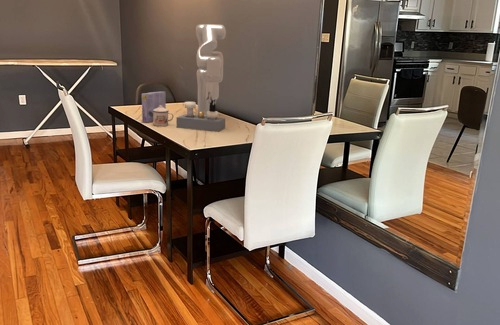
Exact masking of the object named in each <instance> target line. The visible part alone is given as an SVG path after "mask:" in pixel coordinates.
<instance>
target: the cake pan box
mask: <svg viewBox="0 0 500 325" xmlns="http://www.w3.org/2000/svg"><path fill="white" fill-rule="evenodd" d="M166 99H167V98H166V91H153V92H147V93H145V92H144V93H143V92H142V93H141V114H142V115H141V119H142V120H141V121H142V123H146V124H147V123H148V124H149V123H154V119H153V110H154V109H156V108H158V107H159V106H160V105H161V106H162V107H164V108H165V109H167V108H166Z"/></svg>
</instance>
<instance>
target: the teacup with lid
mask: <svg viewBox="0 0 500 325" xmlns="http://www.w3.org/2000/svg"><path fill="white" fill-rule="evenodd" d="M169 115H171V119H169ZM174 116H175V115H174V114H173V113H172V112H169V109H167V108H166V109H165V108H164V107H162V106H161V105H160V106H159V107H158V108H156V109H154V110H153V119H154V122H153V125H154V126H155V127H167V126H168V125H169V122H172V121H173V119H174Z"/></svg>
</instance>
